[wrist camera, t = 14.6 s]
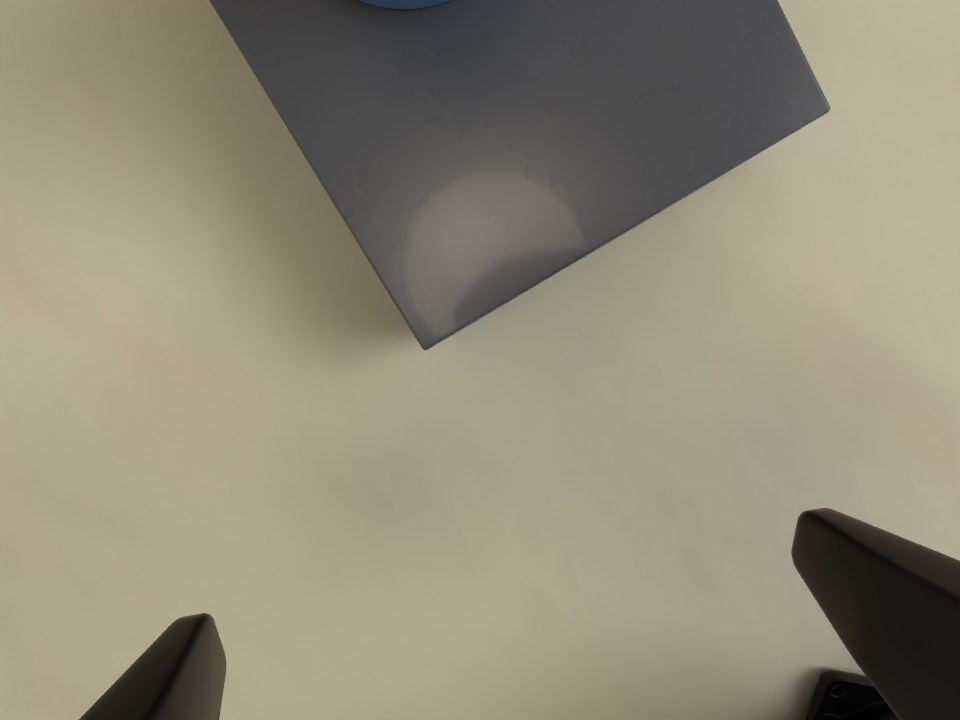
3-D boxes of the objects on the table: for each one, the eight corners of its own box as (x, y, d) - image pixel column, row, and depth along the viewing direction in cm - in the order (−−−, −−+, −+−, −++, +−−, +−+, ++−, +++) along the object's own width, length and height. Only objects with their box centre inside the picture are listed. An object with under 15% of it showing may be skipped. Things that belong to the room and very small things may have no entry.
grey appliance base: (754, 148, 18) (833, 109, 14) (443, 333, 20) (423, 352, 15) (516, -316, 16) (518, -532, 12) (197, -74, 18) (94, -185, 14)
